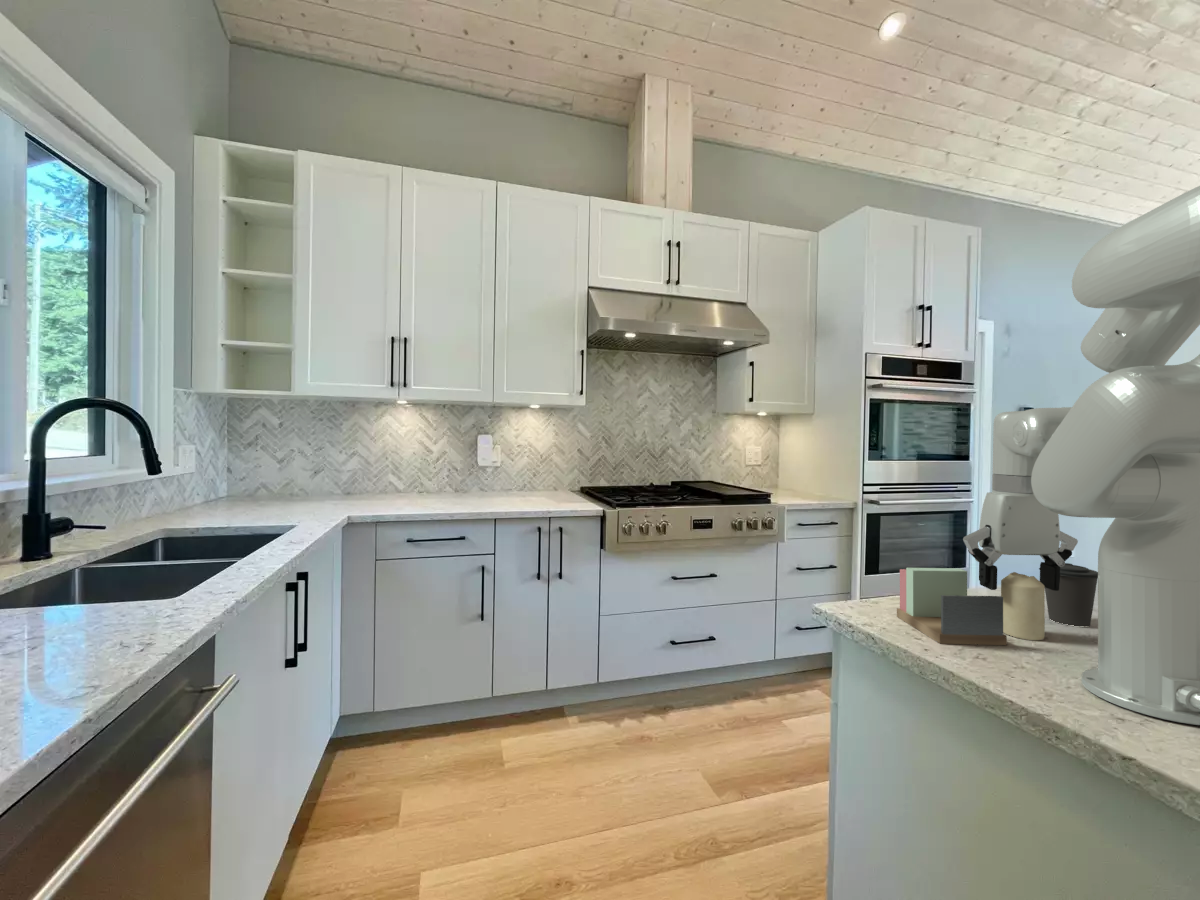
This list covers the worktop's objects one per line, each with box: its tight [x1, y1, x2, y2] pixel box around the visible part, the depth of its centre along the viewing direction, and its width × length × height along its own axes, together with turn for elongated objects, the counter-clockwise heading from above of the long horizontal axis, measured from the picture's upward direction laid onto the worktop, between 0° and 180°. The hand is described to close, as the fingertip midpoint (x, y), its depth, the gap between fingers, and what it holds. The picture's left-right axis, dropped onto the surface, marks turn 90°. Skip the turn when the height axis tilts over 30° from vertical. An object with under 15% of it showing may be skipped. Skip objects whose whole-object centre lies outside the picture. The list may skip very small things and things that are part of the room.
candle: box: [1000, 571, 1046, 641], centre depth 83 cm, size 6×6×10 cm
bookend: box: [941, 595, 1004, 636], centre depth 79 cm, size 1×9×6 cm, turn 87°
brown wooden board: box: [896, 607, 1008, 646], centre depth 85 cm, size 13×10×2 cm
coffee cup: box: [1038, 562, 1098, 627], centre depth 89 cm, size 8×8×10 cm
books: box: [899, 567, 968, 617], centre depth 90 cm, size 4×9×8 cm, turn 86°
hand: (1018, 587), depth 84 cm, fingers open, 9 cm apart
